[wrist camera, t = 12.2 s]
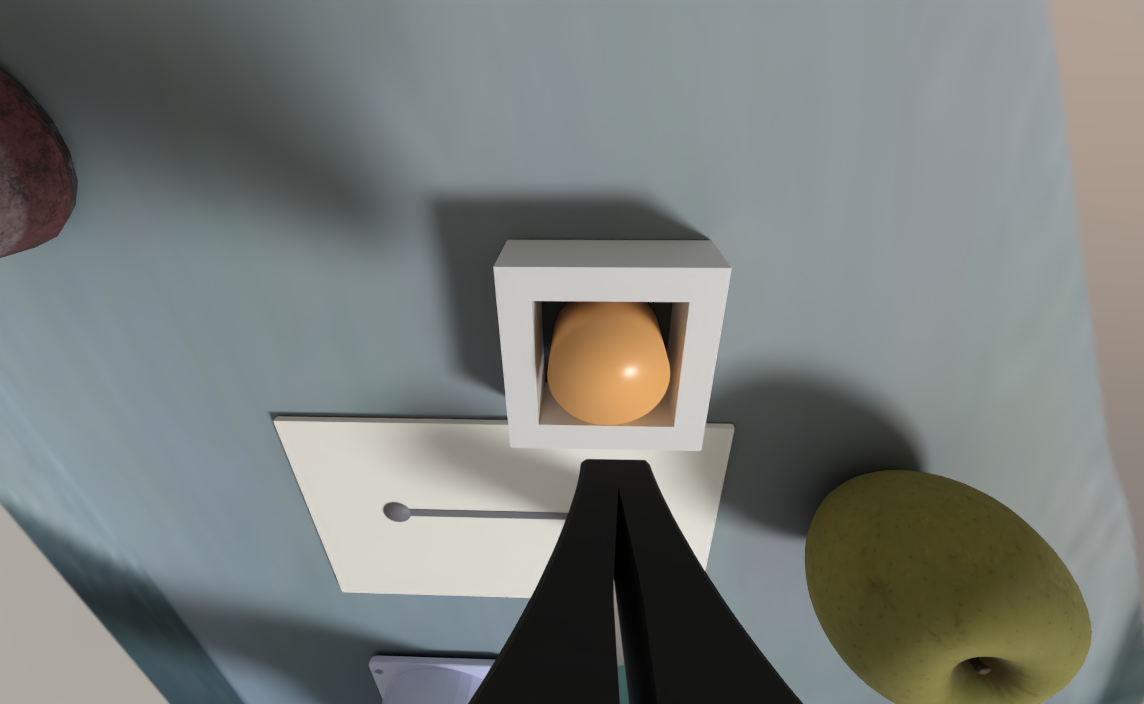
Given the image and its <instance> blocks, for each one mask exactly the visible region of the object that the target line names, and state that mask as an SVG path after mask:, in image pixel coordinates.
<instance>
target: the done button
mask: <svg viewBox="0 0 1144 704" xmlns="http://www.w3.org/2000/svg"><path fill="white" fill-rule="evenodd" d="M547 377H548V384H549V388H550V390H551V393H552V395H553V397H554V398H555V400H556V401H557V403H558V404H559V405H560V406H561V407H562V408H563V409H564V410H565V411H567V412H568V413H569V414H571V415H572V416H574V417H576V418H578V419H580V420H583V421H585V422H589V423H592V424H598V425H617V424H623V423H627V422H631V421H633V420H636V419H638V418H640V417H642V416H644V415H645V414H647V413H648V412H650V411H651V410H652V409H653V408H655V406H656V405H657V404H658V403H659V402H660V401H661V399H662V398H663V396H664V395H665V393H666V391H667V388H668V385H669V380H670V365H669V361H668V357H667V353H666V350H665V346H664V342H663V339H662V335H661V331H660V327H659V324H658V320H657V318H656V315H655V313H654V312H653V310H652V309H651V307H650V306H649V305H648V304H647V303H646V302H595V301H569V302H568V303H567V304H566V305H565V306H564V307H563V309H562V310H561V311H560V313H559V315H558V317H557V319H556V322H555V325H554V331H553V337H552V344H551V350H550V357H549V363H548V372H547Z"/></svg>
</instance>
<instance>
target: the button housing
mask: <svg viewBox="0 0 1144 704" xmlns="http://www.w3.org/2000/svg"><path fill="white" fill-rule="evenodd" d="M493 269H494V279H495V290H496V301H497V311H498V322H499V332H500V343H501V353H502V364H503V374H504V385H505V395H506V406H507V416H508V427H509V438H510V448H562V449H616V450H670V451H701V449H702V443H703V437H704V431H705V425H706V419H707V413H708V407H709V401H710V395H711V389H712V383H713V377H714V371H715V365H716V359H717V353H718V347H719V341H720V336H721V330H722V324H723V318H724V312H725V306H726V300H727V294H728V288H729V282H730V276H731V270H732V268H731V266H730V265H729V264H728V262H727V261H726V259H725V258H724V257H723V255H722V254H721V253H720V251H719V250H718V249H717V247H716V246H715V245H714V243H713V242H712V240H507V242H506V244H505V245H504V247H503V249H502V251H501V253H500V255H499V257H498V259H497V261H496V263H495V265H494V266H493ZM542 301H595V302H673V303H672V312H671V321H670V331H669V340H668V350H667V357H668V361H669V365H670V380H669V385H668V388H667V391H666V393H665V395H664V396H663V398H662V399H661V401H660V402H659V403H658V404H657V405H656V406H655V408H653V409H652V410H651V411H650V412H648V413H647V414H645V415H644V416H642V417H640V418H638V419H636V420H633V421H631V422H627V423H623V424H617V425H598V424H592V423H589V422H585V421H583V420H580V419H578V418H576V417H574V416H572V415H571V414H569V413H568V412H567V411H565V410H564V409H563V408H562V407H561V406H560V405H559V404H558V403H557V401H556V400H555V398H554V397H553V395H552V393H551V390H550V388H549V384H548V382H545V368H544V345H543V322H542Z"/></svg>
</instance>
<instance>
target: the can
mask: <svg viewBox="0 0 1144 704" xmlns="http://www.w3.org/2000/svg"><path fill="white" fill-rule="evenodd" d="M77 182H78V181H77V177H76V173H75V170H74V166H73V162H72V158H71V154H70V151H69V150H68V148H67V146H66V144H65V142H64V141H63V139H62V137H61V135H60V133H59V131H58V130H57V128H56V126H55V124H54V122H53V121H52V119H51V118H50V117H49V116H48V115H47V113H46V112H45V111H44V110H43V109H42V107H41V106H40V105H39V104H38V103H37V101H36V100H35V99H34V98H33V97H32V95H31V94H30V93H29V92H28V91H27V90H26V89H25V88H24V87H23V86H22V85H20V84H19V83H18V82H17V81H16V80H14V79H13V78H12V77H11V76H10V75H8V74H7V73H6V72H5V71H4V70H2V69H1V68H0V258H2V257H5V256H8V255H12V254H15V253H18V252H21V251H25V250H28V249H31V248H35V247H37V246H39V245H41V244H43V243H45V242H47V241H49V240H51V239H53V238H55V237H57V236H58V234H59V233H60V231H61V230H62V228H63V226H64V225H65V223H66V222H67V220H68V219H69V217H70V215H71V213H72V211H73V209H74V207H75V205H76V193H77Z"/></svg>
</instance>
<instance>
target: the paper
mask: <svg viewBox="0 0 1144 704" xmlns="http://www.w3.org/2000/svg"><path fill="white" fill-rule="evenodd" d="M273 422H274V424H275V427H276V429H277V432H278V434H279V437H280V439H281V442H282V444H283V447H284V449H285V452H286V454H287V456H288V459H289V461H290V464H291V466H292V469H293V471H294V474H295V476H296V479H297V481H298V484H299V486H300V489H301V491H302V493H303V496H304V498H305V501H306V503H307V506H308V508H309V511H310V513H311V516H312V518H313V521H314V523H315V526H316V528H317V530H318V533H319V535H320V538H321V540H322V543H323V545H324V548H325V550H326V553H327V555H328V558H329V560H330V563H331V565H332V567H333V570H334V572H335V575H336V577H337V580H338V582H339V585H340V587H341V590H342V592H351V593H385V594H418V595H452V596H485V597H519V598H531V596H532V594H533V592H534V591H535V589H536V587H537V585H538V582H539V580H540V578H541V576H542V574H543V572H544V570H545V567H546V565H547V563H548V561H549V559H550V557H551V555H552V552H553V550H554V548H555V546H556V543H557V541H558V538H559V536H560V533H561V530H562V528H563V525H564V523H565V520H566V518H567V515H568V512H569V509H570V506H571V503H572V500H573V497H574V494H575V490H576V487H577V483H578V478H579V473H580V465H581V462H583V461H584V460H586V459H618V460H646V461H647V462H648V463H649V464H650V466H651V469H652V472H653V474H654V477H655V479H656V482H657V484H658V486H659V488H660V491H661V493H662V495H663V497H664V499H665V501H666V503H667V505H668V507H669V509H670V511H671V513H672V515H673V517H674V519H675V521H676V522H677V524H678V526H679V528H680V530H681V531H682V533H683V535H684V537H685V538H686V540H687V542H688V544H689V545H690V547H691V549H692V551H693V552H694V554H695V556H696V557H697V559H698V561H699V562H700V564H701V565H702V567H703V569H704V570H706V565H707V560H708V555H709V550H710V545H711V541H712V536H713V531H714V526H715V521H716V516H717V512H718V507H719V502H720V497H721V492H722V487H723V483H724V478H725V473H726V468H727V463H728V459H729V454H730V449H731V444H732V439H733V434H734V430H735V428H734V426H733V424H716V423H706V425H705V431H704V437H703V443H702V449H701V451H670V450H616V449H562V448H510V438H509V427H508V420H473V419H412V418H352V417H291V416H277V417H276V418H275V419H274V421H273Z"/></svg>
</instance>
